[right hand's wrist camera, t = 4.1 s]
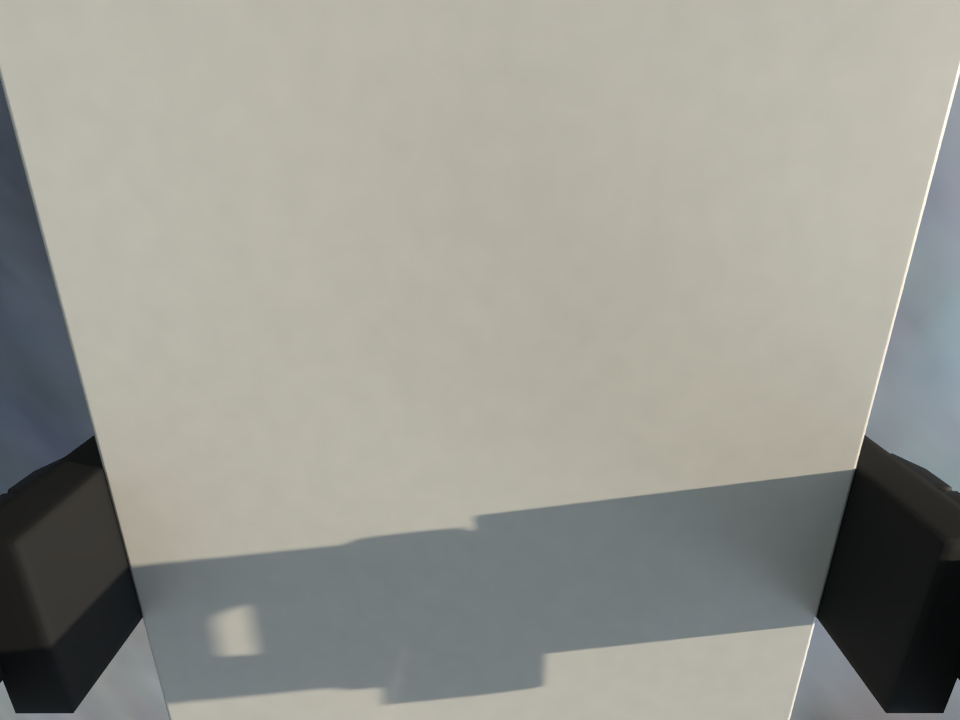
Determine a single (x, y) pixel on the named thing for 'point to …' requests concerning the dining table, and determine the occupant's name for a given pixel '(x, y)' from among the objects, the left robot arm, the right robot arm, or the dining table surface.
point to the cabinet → (479, 332)
